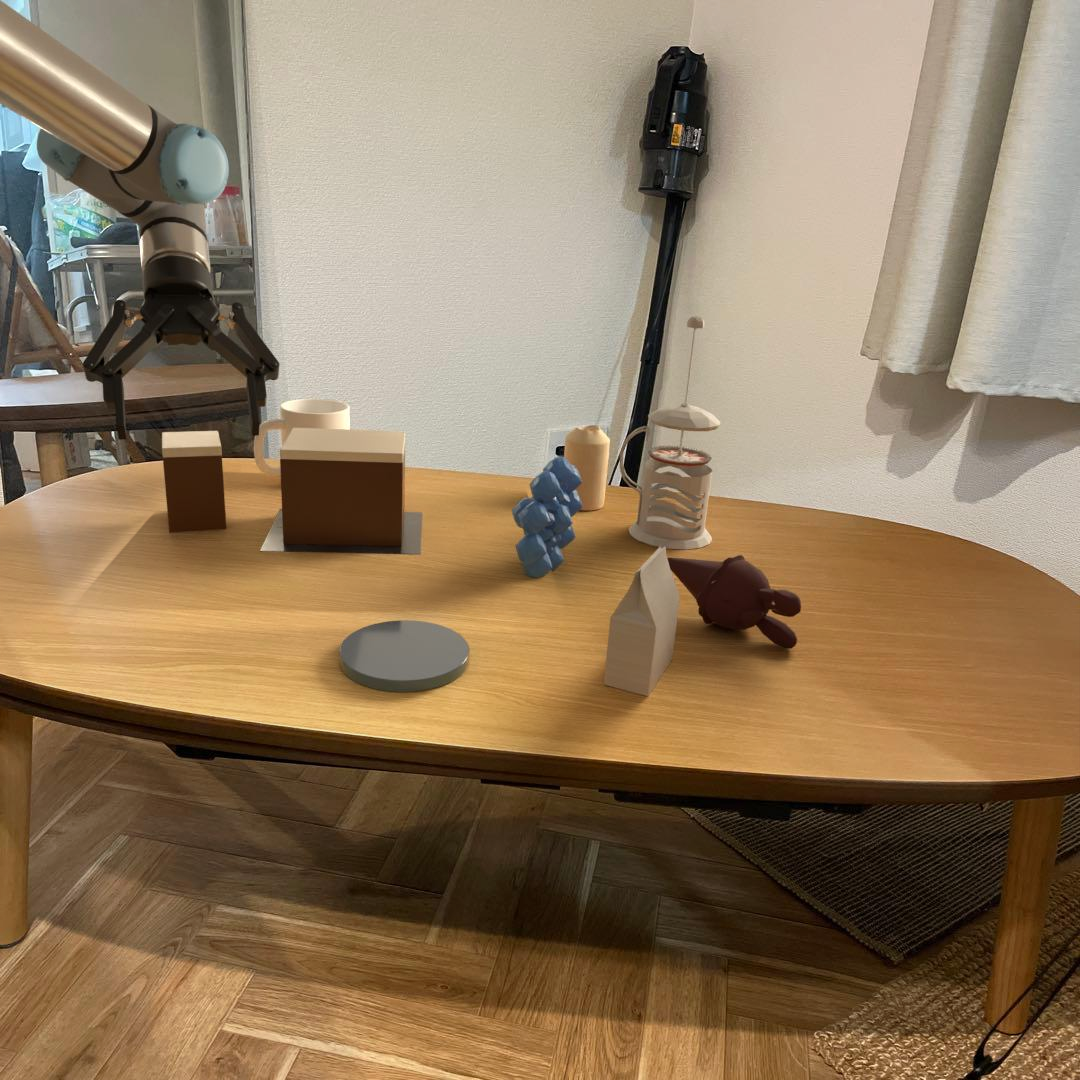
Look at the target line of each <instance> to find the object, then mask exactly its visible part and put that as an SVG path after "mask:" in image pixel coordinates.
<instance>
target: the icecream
mask: <svg viewBox="0 0 1080 1080" xmlns="http://www.w3.org/2000/svg"><path fill="white" fill-rule="evenodd" d="M667 559H668V562H669V566H670V569H671V572H672V574H674V575H675V576H676V578H677V579H678V580H679V581H680V582H681V584H682V585H683V586H684V587H685V588H686V589H687V591H688V592H689V593H690V594H691V596H692V597H693V598H694V599H695V602H696V604H697V606H698V615H699V616H700V617H701V618H702V621H703V622H704V624H706V625H711V624H715V625H717V626H719V627H722V628H723V629H729V630H737V631H738V630H740V631H742V630H747V629H750V628H753V627H756V628H758V630H759V631H760V632H761V633H762V635H764V636H765V637H766V638H767V639H768V640H769V641H771V642H772V643H773V644H774V645H776V646H778V647H781V648H783V649H785V650H790V649H791V650H792V649H793V648H794V647H796V645H797V644H798V637H797V634H796V633H795V631H793V629H792V628H791V627H790V626H789V625H788V624H787V623H785V622H783V621H781V620H779V619H778V618H775V617H773V616H770V615H767V614H768V613H769V612H770V611H771V612H772V613H773V614H775V615H778V616H781V617H787V618H793V617H795V616H797V615H798V614H799V613H801V610H802V602H801V597H799V595H798V594H796V593H795V592H792V591H790V590H787V589H774V588H771V584H770V582H769V579H768V578H767V576H766V575H765V574H764V573H765V572H763V571H762V570H761V569H760V568H759V567H757V566H755V565H753V564H752V563H751V562H750V561H748V560H746V559H745V557H744V556H743V554H739V555H736V556H733V557H727V558H725V559H723V561H719V560H718V561H717V560H706V559H696V558H695V559H694V558H682V557H672V556H671V557H669V556H667Z"/></svg>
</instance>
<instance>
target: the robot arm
mask: <svg viewBox="0 0 1080 1080" xmlns="http://www.w3.org/2000/svg"><path fill="white" fill-rule="evenodd" d="M0 105H1V106H4V107H5V108H7V109H8V110H10V111H12V112H13V113H15V114H17V115H18V116H19V117H22V118H24V119H25V120H26V121H29V122H30V123H32V124H33V125H35V126H37V127H38V128H39V131H38V134H37V137H36V151H37V155H38V157H39V159H40V161H41V162H42V163H43V164H45V166H47V167H48V168H49V169H51V170H52V171H54V172H55V173H56V174H58V175H59V176H60V177H62V178H63V180H64V181H66V182H70V183H72V184H73V185H75V186H76V187H78V188H79V189H81V190H82V191H84V192H85V193H87V194H89V195H90V196H92V197H94V198H95V199H97V200H98V201H100V202H102V203H103V204H105V205H107V206H108V207H110V208H111V209H113V210H114V211H116V212H118V213H119V214H120V215H122V216H124V217H125V218H127V219H129V220H130V221H132V222H133V223H135V224H136V225H137V227H138V236H139V248H140V249H139V250H140V262H141V263H140V264H141V271H142V273H141V275H142V288H143V289H142V291H143V303H142V305H140V306H136V305H135V306H134V305H127V303H126V302H125V301H124V300H123V299H116V300H115V301H114V302H113V307H112V316H111V318H109V320H108V322H107V324H106V325H105V327H104V328H103V330H102V332H101V333H100V335H99V336H98V338H97V340H96V341H95V343H94V344H93V346H92V348H91V349H90V350H89V352H88V354H87V355H86V357H85V358H84V360H83V362H82V367H83V372H84V376H85V379H86V381H87V382H91V383H92V382H93V383H94V382H99V383H100V384H102V399H103V403H104V407H105V408H106V410H115V427H116V432H117V436H118V440H120V441H121V440H122V441H123V440H127V423H126V422H127V421H126V403H125V388H124V387H125V386H124V382H123V378H124V377H125V376H126V375H127V374H128V373H129V372H130V371H131V370H132V369H133V368H135V366H136V365H137V364H139V362H141V361H142V360H143V359H144V358H145V357H146V356H147V355H148V354H149V353H150V352H151V351H155V350H156V349H157V348H158V347H160V345H161V344H162V343H163V342H164V343H165V344H167V345H168V346H178V345H187V346H198V344H200V343H203V344H204V345H205V346H206V347H207V348H208V349H209V350H210V351H215V352H216V353H217V354H218V355H219V356H221V357H222V358H223V359H224V360H225V361H226V362H227V363H228V364H230V365H231V366H232V367H234V368H235V369H236V370H237V371H238V372H239V373H240V374H242V375H243V376H244V377H245V378H246V384H245V385H246V395H247V404H248V413H249V422H250V429H251V430H250V431H251V436H252V437H253V436H254V437H255V436H256V435H259V426H260V425H261V423H260V413H259V408H260V407H262V408H265V407H266V404H267V399H268V397H267V396H268V395H267V388H266V387H267V386H266V382H267V381H277V380H278V379H279V376H280V375H279V374H280V366H281V365H280V362H279V361H278V359H277V357H276V356H275V355H274V354H273V352H272V351H271V350H270V348H269V347H268V346H267V344H266V342H264V340H263V339H262V338H261V336H260V335H259V334H258V332H257V331H256V330H255V328H254V327H253V326H252V325H251V323H250V322H249V320H248V319H247V317H246V313H245V310H244V306H243V304H242V302H241V303H240V302H238V301H237V302H233V303H232V304H231V307H226V308H225V307H223V308H218V306H217V305H216V303H215V298H214V291H213V280H212V279H213V278H212V275H211V269H212V268H211V260H210V249H209V244H208V235H207V222H206V212H205V211H206V210H205V208H206V204H210V203H212V202H214V201H215V200H217V199H218V198H219V197H220V196H221V195H222V194H223V192H224V190H225V188H226V186H227V184H228V180H229V173H230V171H229V170H230V167H229V159H228V156H227V152H226V150H225V148H224V146H223V145H222V142H221V141H220V140H219V139H218V138H217V137H216V136H215V134H213V132H211V131H209V130H208V129H205V128H204V127H201V126H195V125H193V124H190V123H176V122H174V121H173V120H171V119H169V118H168V117H167V116H165V114H162V113H161V112H159V111H158V110H157V109H155V108H153V107H152V106H151V105H150V104H148V103H146V102H145V101H143V100H142V99H140V98H139V97H138V96H136V95H135V94H133V93H132V92H130V91H129V90H128V89H126V88H125V87H124V86H122V85H121V84H119V83H118V82H116V81H115V80H113V79H112V78H111V77H110V76H108V75H107V74H105V73H104V72H103V71H101V70H99V69H98V68H97V67H95V66H94V65H92V64H91V63H90V62H88V61H87V60H85V59H84V58H82V57H81V56H80V55H79V54H77V53H76V52H74V51H73V50H72V49H70V48H69V47H67V46H65V45H64V44H63V43H61V42H60V41H59V40H57V39H56V38H54V37H53V36H52V35H50V34H49V33H48V32H46V31H45V30H44V29H42V28H40V27H39V26H38V25H36V24H35V23H33V22H32V21H31V20H29V19H28V18H26V16H24V15H22V14H21V13H19V12H18V11H17V10H15V9H14V8H12V7H11V6H10V5H8V4H7V3H5V2H4V1H2V0H0ZM138 320H141V322H142V323H143V325H142V326H141V330H140V331H139V332H138V333H137V334H136V335H135V336H134V337H133V338H132V339H131V340H130V341H129V342H127V343H126V344H125V345H124V346H123V347H122V348H121V349H120V350H119V351H118V352H117V353H115V351H116V349H117V348H118V346H119V344H120V343H121V341H122V339H123V338H124V337H125V334H126V332H127V328H131V327H132V326H133V325H134V324H135V322H136V321H138ZM220 321H222V322H224V323H225V324H226V325H227V326H228V327H229V328H230V329H231V330H232V329H234V332H235V335H236V336H237V338H238V339H239V340H240V342H241V344H243V346H244V347H245V348H246V349H247V351H248V352H249V353H248V352H247V351H246V350H244V349H243V348H242V347H241V346H239V344H237V343H236V342H234V340H232V339H231V338H230V336H228V335H226V334H225V333H224V332H223V331H222V329H221V327H220V326H219V325H218V324H219V323H220ZM114 353H115V355H113V354H114Z"/></svg>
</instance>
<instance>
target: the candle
mask: <svg viewBox="0 0 1080 1080" xmlns="http://www.w3.org/2000/svg"><path fill="white" fill-rule="evenodd" d="M610 445H611V439H610V438H609V437H608V436H607V434H606V433H605V432H604V431H603V430H602V429H601V428H600V426H599V425H596V424H591V425H587V426H584V427H579V426H577V427H575V428H574V429H573V430H571V431H569V433H567V434H566V435H565V438H564V451H563V457H564V458H565V459H567V460H568V462H569V464H572V465H574V466H575V467H576V468H577V470H578V472H579V474H580V477H581V480H582V483H581V484H580V485H579V486H578V487H577V488H576V489H575V491H577V493H578V495H579V496H580V499H581V502H582V506H583V507H582V508H581V509H580V510H579V511H596V510H597V511H598V510H600V509H602V508H603V507H604V505H605V498H606V488H607V487H606V486H607V475H608V467H609V456H610Z"/></svg>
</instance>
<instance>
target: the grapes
mask: <svg viewBox="0 0 1080 1080" xmlns="http://www.w3.org/2000/svg"><path fill="white" fill-rule="evenodd" d="M581 483H582V480H581V477H580V474H579V472H578V470H577V468H576V467H575V466H574V465H572V464H569V462H568V460H567V459H565V458H564V456H556V457H553V459H551V460H550V461H549V462H548V463H547V464H546V465H545V466H544V467H543V469H542V471H541V472H540V473H539V474H537V475H536V476H535V477H534V478H533V480H532V481H531V482H530V483H529V490H530V492H531V495H532V496H531V497H530V496H529V497H523V498H522V499H521V500H519V502H517V503H516V505H515V506H514V507H513V508H512V509H511V513H512V517H513V521H514V523H515V524H516V526H517V527H518V528H520V529H522V531H523V535H524V536H523V537H521V538H520V540H519V541H518V542H516V544H515V545H514V546H515V550H516V551H515V552H516V554H517V558H518V559H519V560H520V562H521V564H522V568H523V571H524V573H525V575H526V576H527V577H529V578H542V577H544V576H546V575H548V574H549V572H551V573H553V572H554V571H556V570H557V569H559V567H560V566H561V565H562V564H563V563H564V562H565V560H564V556H563V553H562V549H565V548H566V547H568V546H569V544H571V543H572V542H573V541H574V540H575V539H576V533H575V529H574V527H573V519H572V517H574V516H575V515H576V514H577V513H578V512H579V511H581V510H580V509H581V508H582V507H583V506H582V502H581V499H580V496H579V495H578V493H577V491H575V489H576V488H577V487H578V486H579V485H580V484H581Z"/></svg>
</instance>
